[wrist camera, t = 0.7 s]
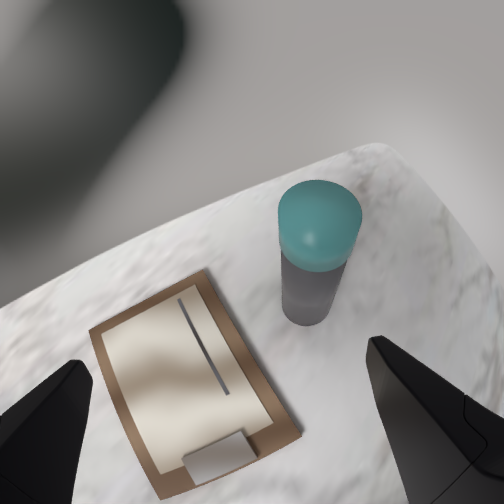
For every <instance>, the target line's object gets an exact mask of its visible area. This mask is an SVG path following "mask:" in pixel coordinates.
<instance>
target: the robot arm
mask: <svg viewBox="0 0 504 504" xmlns="http://www.w3.org/2000/svg"><path fill="white" fill-rule="evenodd" d="M366 365H367V369H368V373H369V377H370V381H371V385H372V389H373V394H374V398H375V402H376V406H377V409H378V412H379V415H380V418H381V420H382V423H383V426H384V429H385V432H386V434H387V437H388V440H389V443H390V446H391V449H392V452H393V455H394V458H395V461H396V464H397V467H398V470H399V473H400V476H401V479H402V482H403V485H404V488H405V492H406V495H407V498H408V501H409V504H504V418H502V417H500V416H498V415H497V414H495V413H493V412H492V411H490V410H488V409H487V408H485V407H484V406H482V405H481V404H479V403H478V402H476V401H475V400H473V399H472V398H471V397H469V396H468V395H465V394H464V393H463V392H462V391H461V390H459V389H458V388H456V387H455V386H454V385H452V384H451V383H449V382H448V381H447V380H445V379H444V378H442V377H441V376H440V375H438V374H437V373H435V372H434V371H433V370H431V369H430V368H428V367H427V366H425V365H424V364H423V363H421V362H420V361H418V360H417V359H416V358H414V357H413V356H411V355H410V354H409V353H407V352H406V351H404V350H403V349H401V348H400V347H399V346H397V345H396V344H394V343H393V342H392V341H390V340H389V339H387V338H386V337H384V336H382V335H380V336H375V337H371V338H369V340H368V346H367V353H366ZM92 386H93V379H92V376H91V374H90V373H89V371H88V369H87V368H86V366H85V364H84V363H83V361H81V360H70V361H68V362H67V363H66V364H64V365H63V366H62V367H61V368H59V369H58V370H57V371H55V372H54V373H53V374H52V375H50V376H49V377H48V378H47V379H45V380H44V381H43V382H42V383H40V384H39V385H38V386H37V387H35V388H34V389H33V390H31V391H30V392H29V393H28V394H26V395H25V396H24V397H23V398H22V399H20V400H19V401H18V402H17V403H15V404H14V405H13V406H12V407H10V408H9V409H8V410H7V411H5V412H4V413H3V414H2V416H0V504H71V503H72V496H73V490H74V484H75V478H76V473H77V467H78V462H79V457H80V452H81V447H82V443H83V438H84V434H85V429H86V425H87V420H88V413H89V406H90V399H91V392H92Z"/></svg>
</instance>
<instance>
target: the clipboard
mask: <svg viewBox="0 0 504 504" xmlns="http://www.w3.org/2000/svg"><path fill="white" fill-rule="evenodd" d="M88 331H89V334H90V338H91V341H92V344H93V347H94V351H95V354H96V357H97V360H98V363H99V366H100V369H101V372H102V375H103V377H104V380H105V383H106V386H107V388H108V391H109V394H110V396H111V399H112V401H113V404H114V406H115V409H116V411H117V414H118V416H119V419H120V421H121V423H122V426H123V428H124V430H125V432H126V435H127V437H128V439H129V441H130V443H131V445H132V448H133V450H134V452H135V454H136V456H137V458H138V460H139V462H140V464H141V466H142V468H143V470H144V472H145V474H146V475H147V477H148V479H149V481H150V483H151V485H152V487H153V488H154V490H155V492H156V494H157V495H158V497H159V499H160V500H163V499H166V498H169V497H172V496H175V495H178V494H181V493H184V492H186V491H189V490H192V489H194V488H197V487H199V486H202V485H204V484H207V483H209V482H212V481H214V480H217V479H219V478H221V477H224V476H226V475H228V474H230V473H233V472H235V471H237V470H239V469H241V468H243V467H246V466H248V465H250V464H252V463H254V462H256V461H258V460H260V459H262V458H264V457H266V456H268V455H270V454H272V453H273V452H275V451H277V450H279V449H281V448H283V447H285V446H286V445H288V444H290V443H292V442H294V441H295V440H297V439H299V438H300V437H302V436H301V434H300V433H299V431H298V429H297V428H296V426H295V425H294V423H293V422H292V420H291V419H290V417H289V415H288V414H287V412H286V411H285V409H284V408H283V406H282V404H281V403H280V401H279V400H278V398H277V396H276V395H275V393H274V391H273V390H272V388H271V387H270V385H269V383H268V382H267V380H266V378H265V377H264V375H263V374H262V372H261V370H260V369H259V367H258V365H257V364H256V362H255V360H254V359H253V357H252V355H251V354H250V352H249V350H248V349H247V347H246V345H245V343H244V342H243V340H242V338H241V337H240V335H239V333H238V331H237V330H236V328H235V326H234V325H233V323H232V321H231V319H230V318H229V316H228V314H227V312H226V311H225V309H224V307H223V305H222V303H221V302H220V300H219V298H218V296H217V295H216V293H215V291H214V289H213V287H212V286H211V284H210V282H209V280H208V278H207V277H206V275H205V273H204V271H203V270H201V271H199V272H197V273H195V274H193V275H192V276H190V277H188V278H186V279H184V280H182V281H180V282H178V283H176V284H175V285H173V286H171V287H169V288H167V289H165V290H163V291H161V292H159V293H158V294H156V295H154V296H152V297H150V298H148V299H146V300H144V301H143V302H141V303H139V304H137V305H135V306H133V307H131V308H129V309H127V310H126V311H124V312H122V313H120V314H118V315H116V316H114V317H113V318H111V319H109V320H107V321H105V322H103V323H101V324H99V325H98V326H96V327H94V328H92V329H90V330H88Z"/></svg>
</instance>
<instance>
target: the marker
mask: <svg viewBox="0 0 504 504" xmlns="http://www.w3.org/2000/svg"><path fill="white" fill-rule="evenodd" d="M361 222H362V211H361V207H360V205H359V203H358V201H357V199H356V198H355V197H354V195H353V194H352V193H351V192H350V191H348V190H347V189H346V188H344V187H342V186H340V185H338V184H336V183H333V182H330V181H324V180H309V181H304V182H301V183H298V184H296V185H294V186H292V187H291V188H290V189H288V190H287V191H286V192H285V194H284V195H283V196H282V198H281V200H280V202H279V206H278V224H279V244H280V248H281V276H282V308H283V311H284V313H285V315H286V316H287V318H288V319H289V320H291V321H292V322H293V323H295V324H298V325H302V326H311V325H315V324H317V323H319V322H321V321H322V320H323V319H324V318H325V317H326V316H327V314H328V312H329V310H330V307H331V304H332V302H333V299H334V296H335V293H336V291H337V288H338V285H339V282H340V279H341V277H342V274H343V271H344V268H345V265H346V262H347V259H348V258H349V256H350V255H351V252H352V250H353V247H354V244H355V241H356V238H357V235H358V232H359V228H360V225H361Z"/></svg>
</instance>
